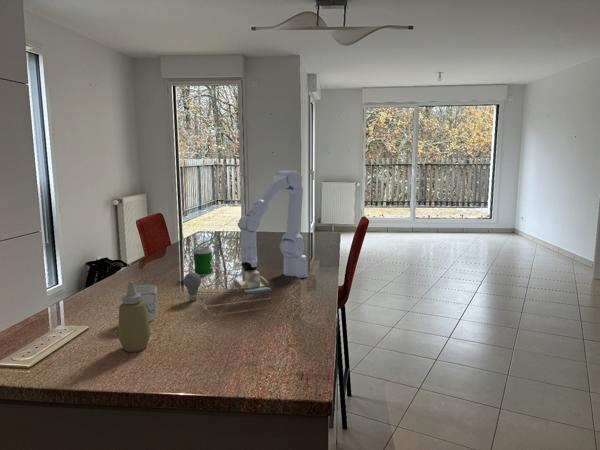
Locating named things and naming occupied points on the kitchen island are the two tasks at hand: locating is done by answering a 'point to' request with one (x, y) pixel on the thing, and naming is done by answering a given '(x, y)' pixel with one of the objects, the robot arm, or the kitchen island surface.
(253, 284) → the beige rectangular block
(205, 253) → the soda can
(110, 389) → the kitchen island surface
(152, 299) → the mug
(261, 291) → the panel
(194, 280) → the light bulb
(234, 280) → the bed
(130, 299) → the squeeze bottle
